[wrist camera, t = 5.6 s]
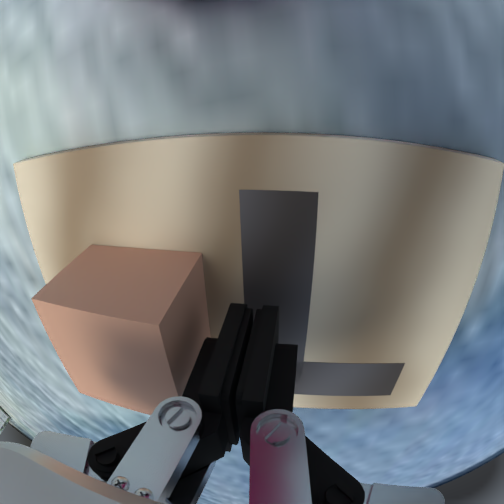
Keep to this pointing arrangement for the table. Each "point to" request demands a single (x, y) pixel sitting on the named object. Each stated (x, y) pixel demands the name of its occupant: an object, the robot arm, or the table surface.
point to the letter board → (292, 240)
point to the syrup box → (3, 419)
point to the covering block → (127, 322)
